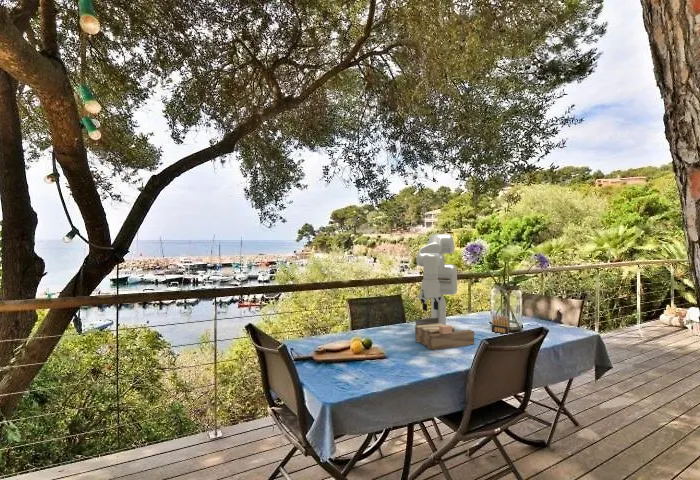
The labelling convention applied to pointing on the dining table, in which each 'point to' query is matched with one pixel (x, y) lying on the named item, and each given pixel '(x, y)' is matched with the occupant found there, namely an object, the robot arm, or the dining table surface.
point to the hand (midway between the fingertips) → (430, 309)
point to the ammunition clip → (500, 325)
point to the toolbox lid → (429, 324)
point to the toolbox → (444, 339)
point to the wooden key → (445, 329)
